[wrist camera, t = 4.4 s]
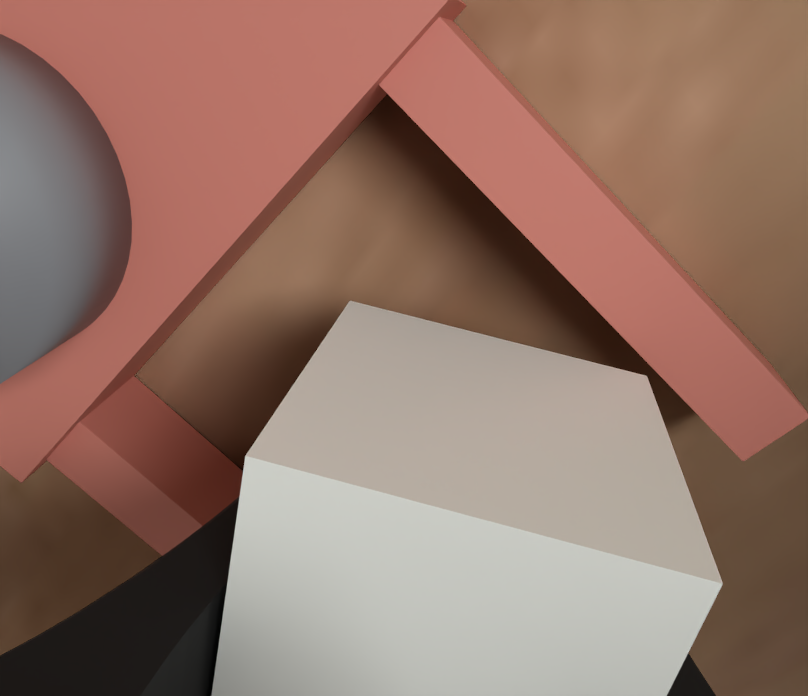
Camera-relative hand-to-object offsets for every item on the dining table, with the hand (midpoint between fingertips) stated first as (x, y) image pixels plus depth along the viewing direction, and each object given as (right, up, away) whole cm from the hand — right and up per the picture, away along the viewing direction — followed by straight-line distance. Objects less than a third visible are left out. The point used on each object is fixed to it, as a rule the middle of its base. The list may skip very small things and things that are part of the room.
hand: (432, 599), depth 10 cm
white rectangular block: (0, +1, +2) cm, 2 cm away
